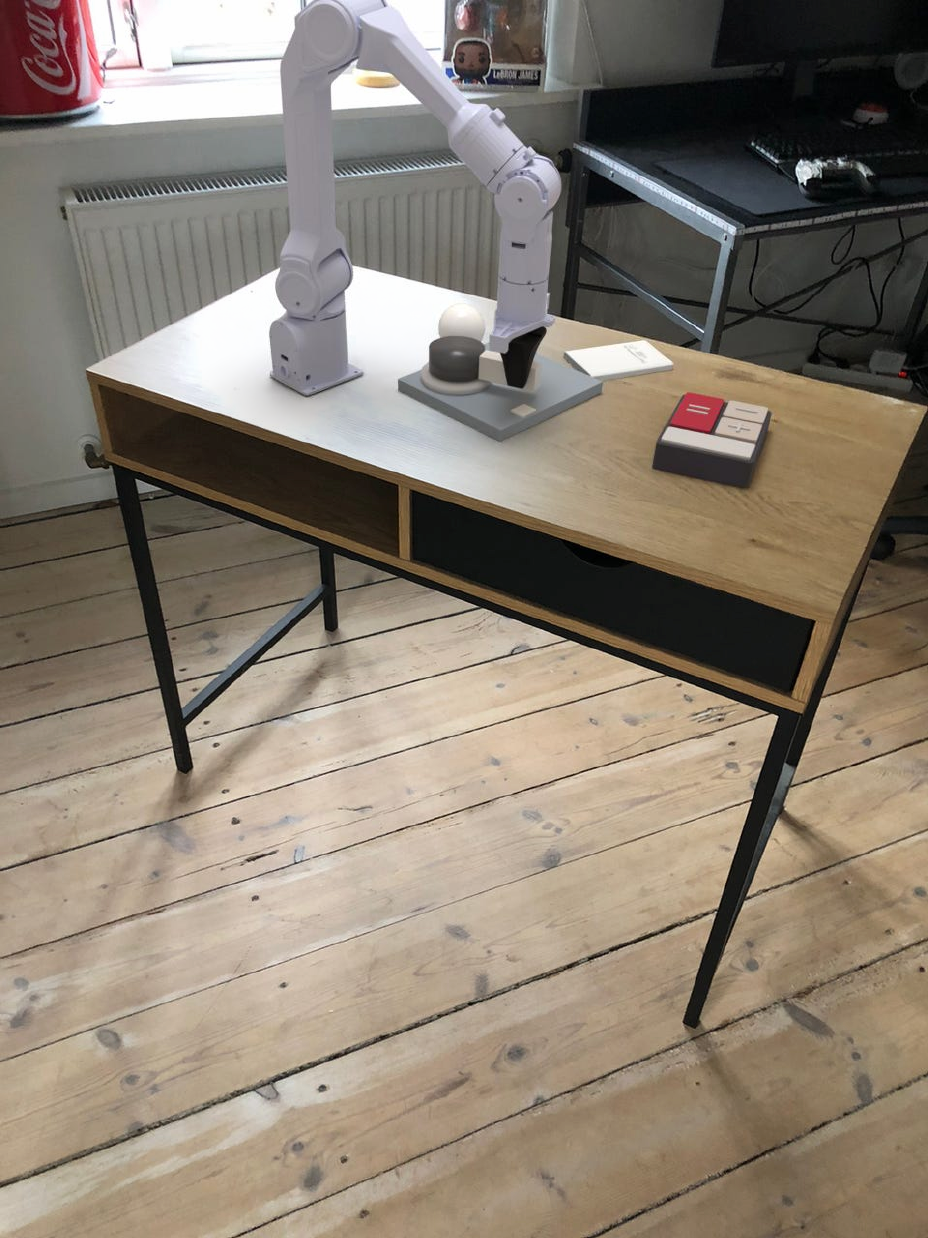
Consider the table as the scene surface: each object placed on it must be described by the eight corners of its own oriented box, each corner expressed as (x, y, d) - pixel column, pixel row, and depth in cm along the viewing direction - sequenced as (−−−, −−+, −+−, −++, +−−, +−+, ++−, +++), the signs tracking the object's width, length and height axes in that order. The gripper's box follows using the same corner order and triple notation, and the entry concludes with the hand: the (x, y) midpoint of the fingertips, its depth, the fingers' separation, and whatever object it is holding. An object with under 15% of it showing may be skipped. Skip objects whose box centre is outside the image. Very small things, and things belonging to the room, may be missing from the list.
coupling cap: (419, 374, 128) (419, 352, 126) (444, 353, 133) (444, 331, 131) (526, 400, 124) (527, 377, 122) (547, 377, 128) (549, 354, 127)
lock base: (499, 441, 121) (501, 422, 120) (398, 389, 131) (397, 371, 129) (601, 392, 132) (603, 374, 130) (500, 347, 142) (501, 330, 140)
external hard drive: (562, 361, 140) (642, 348, 144) (590, 387, 134) (672, 373, 138) (563, 350, 139) (644, 337, 143) (591, 375, 133) (674, 362, 137)
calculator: (774, 405, 123) (755, 456, 112) (766, 437, 126) (746, 491, 114) (684, 387, 126) (656, 436, 115) (678, 419, 129) (650, 470, 117)
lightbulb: (455, 351, 147) (467, 365, 138) (421, 321, 145) (432, 334, 135) (484, 316, 146) (498, 328, 136) (451, 286, 144) (463, 296, 134)
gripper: (534, 303, 110) (526, 417, 118) (577, 260, 120) (566, 368, 129) (473, 292, 112) (469, 405, 120) (521, 250, 122) (514, 357, 131)
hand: (516, 385), depth 125 cm, fingers closed
